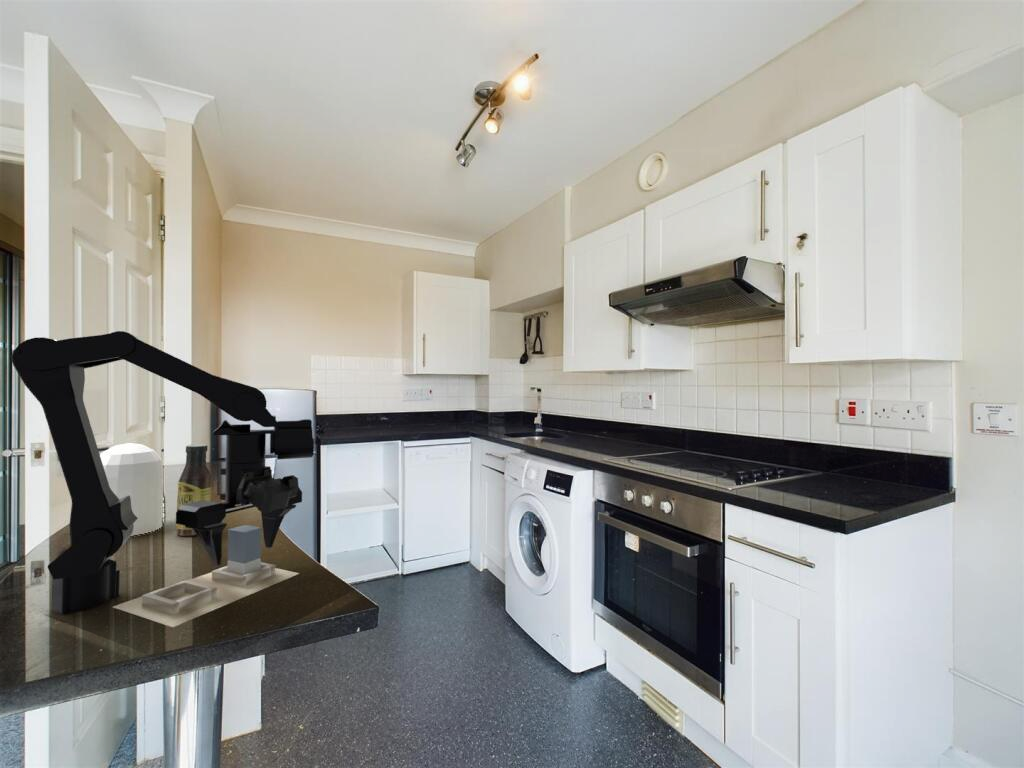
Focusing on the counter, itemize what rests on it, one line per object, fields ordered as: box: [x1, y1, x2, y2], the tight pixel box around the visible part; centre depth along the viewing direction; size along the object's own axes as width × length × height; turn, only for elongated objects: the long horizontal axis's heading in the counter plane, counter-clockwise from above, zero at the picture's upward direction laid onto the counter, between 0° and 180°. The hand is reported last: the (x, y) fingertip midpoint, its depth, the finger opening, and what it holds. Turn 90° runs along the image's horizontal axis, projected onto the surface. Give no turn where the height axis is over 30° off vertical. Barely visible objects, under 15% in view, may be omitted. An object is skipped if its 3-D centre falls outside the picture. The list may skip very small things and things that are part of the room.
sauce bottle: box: [175, 443, 212, 537], centre depth 104 cm, size 7×6×20 cm
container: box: [100, 442, 164, 536], centre depth 106 cm, size 14×13×20 cm
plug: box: [226, 524, 262, 575], centre depth 77 cm, size 3×4×8 cm
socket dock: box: [112, 561, 300, 628], centre depth 72 cm, size 20×14×2 cm
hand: (244, 555), depth 77 cm, fingers open, 9 cm apart
